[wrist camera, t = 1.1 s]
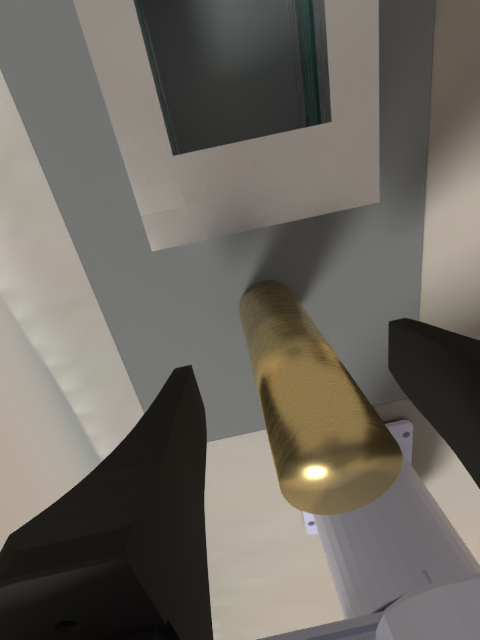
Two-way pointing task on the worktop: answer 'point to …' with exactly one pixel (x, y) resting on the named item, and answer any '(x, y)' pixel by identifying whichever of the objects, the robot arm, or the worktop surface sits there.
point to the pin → (313, 409)
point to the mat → (240, 248)
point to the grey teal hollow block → (255, 154)
